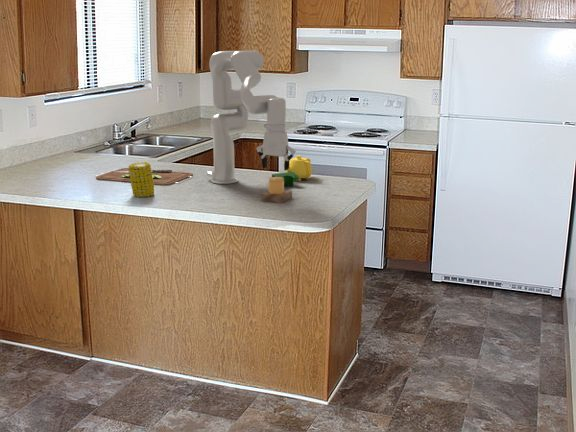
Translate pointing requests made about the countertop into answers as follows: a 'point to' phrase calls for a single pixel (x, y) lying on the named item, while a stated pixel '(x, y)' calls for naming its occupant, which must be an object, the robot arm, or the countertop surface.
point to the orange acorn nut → (276, 185)
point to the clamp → (287, 177)
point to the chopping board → (158, 176)
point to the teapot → (300, 167)
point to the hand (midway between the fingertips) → (275, 168)
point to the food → (141, 179)
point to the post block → (276, 196)
